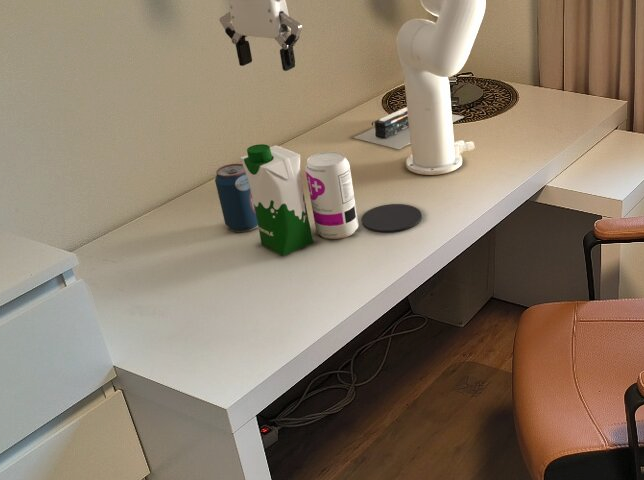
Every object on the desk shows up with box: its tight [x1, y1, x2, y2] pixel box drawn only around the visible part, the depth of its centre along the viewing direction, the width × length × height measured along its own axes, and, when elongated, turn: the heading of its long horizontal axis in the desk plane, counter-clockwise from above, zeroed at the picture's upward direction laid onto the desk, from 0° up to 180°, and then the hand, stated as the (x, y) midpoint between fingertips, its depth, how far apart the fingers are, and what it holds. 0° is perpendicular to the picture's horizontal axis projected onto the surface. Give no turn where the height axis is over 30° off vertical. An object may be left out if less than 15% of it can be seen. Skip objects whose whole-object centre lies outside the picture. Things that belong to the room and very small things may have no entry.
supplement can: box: [304, 151, 359, 240], centre depth 174 cm, size 8×8×15 cm
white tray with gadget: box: [352, 106, 465, 150], centre depth 224 cm, size 14×25×4 cm, turn 146°
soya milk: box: [239, 143, 314, 257], centre depth 168 cm, size 9×9×20 cm
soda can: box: [214, 163, 258, 233], centre depth 178 cm, size 7×7×12 cm
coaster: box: [360, 203, 423, 234], centre depth 182 cm, size 12×12×1 cm
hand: (267, 66), depth 173 cm, fingers open, 9 cm apart
